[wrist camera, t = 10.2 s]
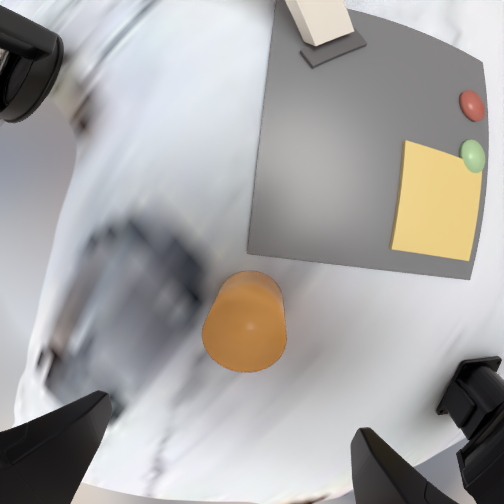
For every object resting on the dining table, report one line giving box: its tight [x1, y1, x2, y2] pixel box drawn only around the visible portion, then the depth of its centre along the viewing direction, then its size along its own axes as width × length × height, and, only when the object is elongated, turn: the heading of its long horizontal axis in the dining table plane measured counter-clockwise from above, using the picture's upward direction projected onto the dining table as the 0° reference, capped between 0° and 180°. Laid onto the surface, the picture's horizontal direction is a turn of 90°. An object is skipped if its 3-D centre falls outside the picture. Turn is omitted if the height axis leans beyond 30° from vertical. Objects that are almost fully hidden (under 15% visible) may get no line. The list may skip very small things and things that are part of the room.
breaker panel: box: [247, 0, 489, 280], centre depth 16 cm, size 17×18×1 cm
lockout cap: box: [202, 271, 287, 373], centre depth 17 cm, size 4×4×5 cm
